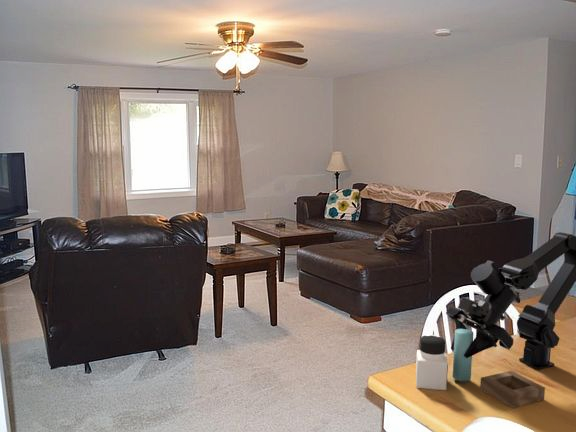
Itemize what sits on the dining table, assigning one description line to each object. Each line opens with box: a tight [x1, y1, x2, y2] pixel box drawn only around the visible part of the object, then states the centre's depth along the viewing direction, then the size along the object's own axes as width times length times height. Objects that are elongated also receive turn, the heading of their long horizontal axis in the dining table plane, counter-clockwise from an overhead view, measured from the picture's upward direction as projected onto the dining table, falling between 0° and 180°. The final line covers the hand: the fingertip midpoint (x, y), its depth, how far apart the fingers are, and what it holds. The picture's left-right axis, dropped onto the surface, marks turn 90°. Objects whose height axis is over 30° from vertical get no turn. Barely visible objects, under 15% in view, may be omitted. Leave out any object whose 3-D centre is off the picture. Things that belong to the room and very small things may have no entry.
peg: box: [452, 328, 474, 382], centre depth 135 cm, size 4×4×12 cm
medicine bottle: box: [415, 334, 449, 391], centre depth 134 cm, size 7×7×12 cm
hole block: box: [479, 370, 546, 409], centre depth 129 cm, size 10×10×3 cm
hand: (458, 353), depth 134 cm, fingers closed on peg, 4 cm apart
